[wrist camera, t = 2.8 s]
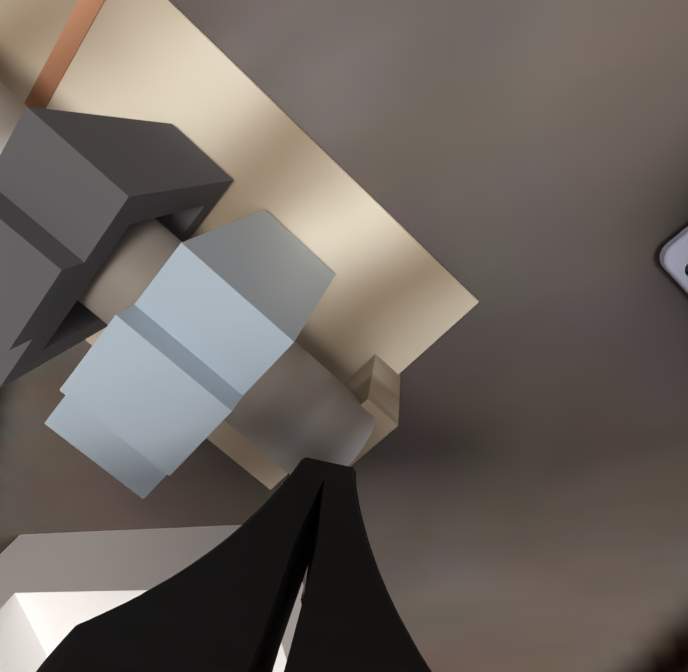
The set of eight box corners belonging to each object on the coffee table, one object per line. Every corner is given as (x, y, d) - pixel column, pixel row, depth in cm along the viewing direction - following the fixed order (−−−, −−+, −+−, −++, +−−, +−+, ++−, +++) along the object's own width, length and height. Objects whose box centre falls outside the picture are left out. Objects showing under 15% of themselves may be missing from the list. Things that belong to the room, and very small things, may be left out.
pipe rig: (480, 302, 16) (509, 365, 11) (273, 488, 20) (230, 594, 15) (16, -149, 13) (-207, -318, 8) (-121, 168, 17) (-327, 174, 12)
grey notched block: (233, 180, 15) (108, 199, 9) (133, 311, 17) (-26, 402, 11) (172, 123, 15) (-3, 103, 8) (77, 264, 17) (-120, 332, 10)
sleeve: (335, 274, 16) (286, 354, 9) (227, 390, 18) (128, 518, 11) (265, 209, 15) (164, 249, 9) (162, 336, 17) (22, 439, 11)
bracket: (76, 639, 25) (-53, 827, 18) (24, 530, 23) (-148, 698, 16) (319, 639, 23) (278, 854, 16) (288, 517, 21) (225, 707, 14)
